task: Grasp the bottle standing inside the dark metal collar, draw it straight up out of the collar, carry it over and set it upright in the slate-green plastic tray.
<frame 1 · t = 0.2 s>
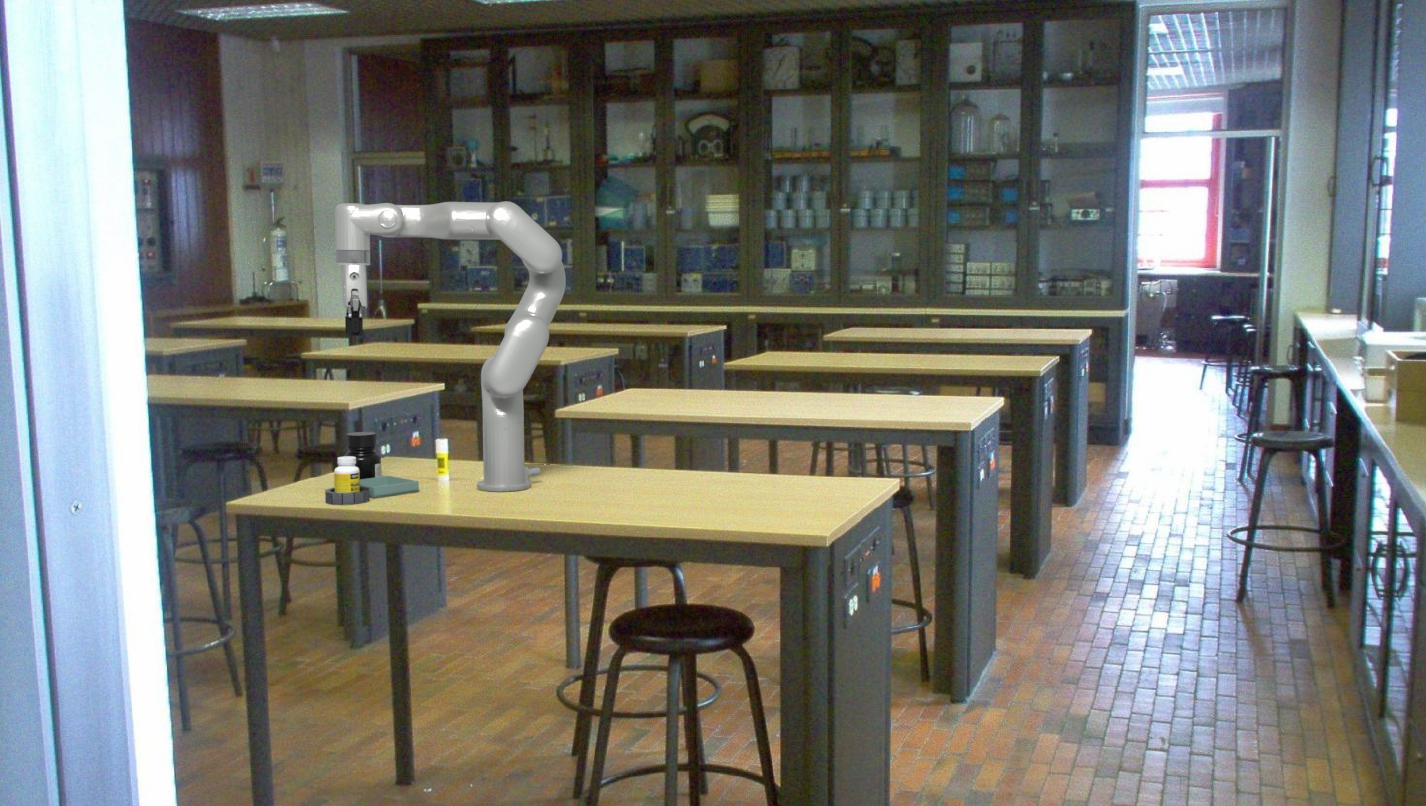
hand: (354, 334, 299), 36 cm above the table, tool pointing down, fingers open, 9 cm apart
tray: (381, 492, 305), on the table
supplement bottle: (347, 501, 294), resting in collar
collar: (347, 500, 294), on the table
ink bottle: (362, 484, 317), on the table
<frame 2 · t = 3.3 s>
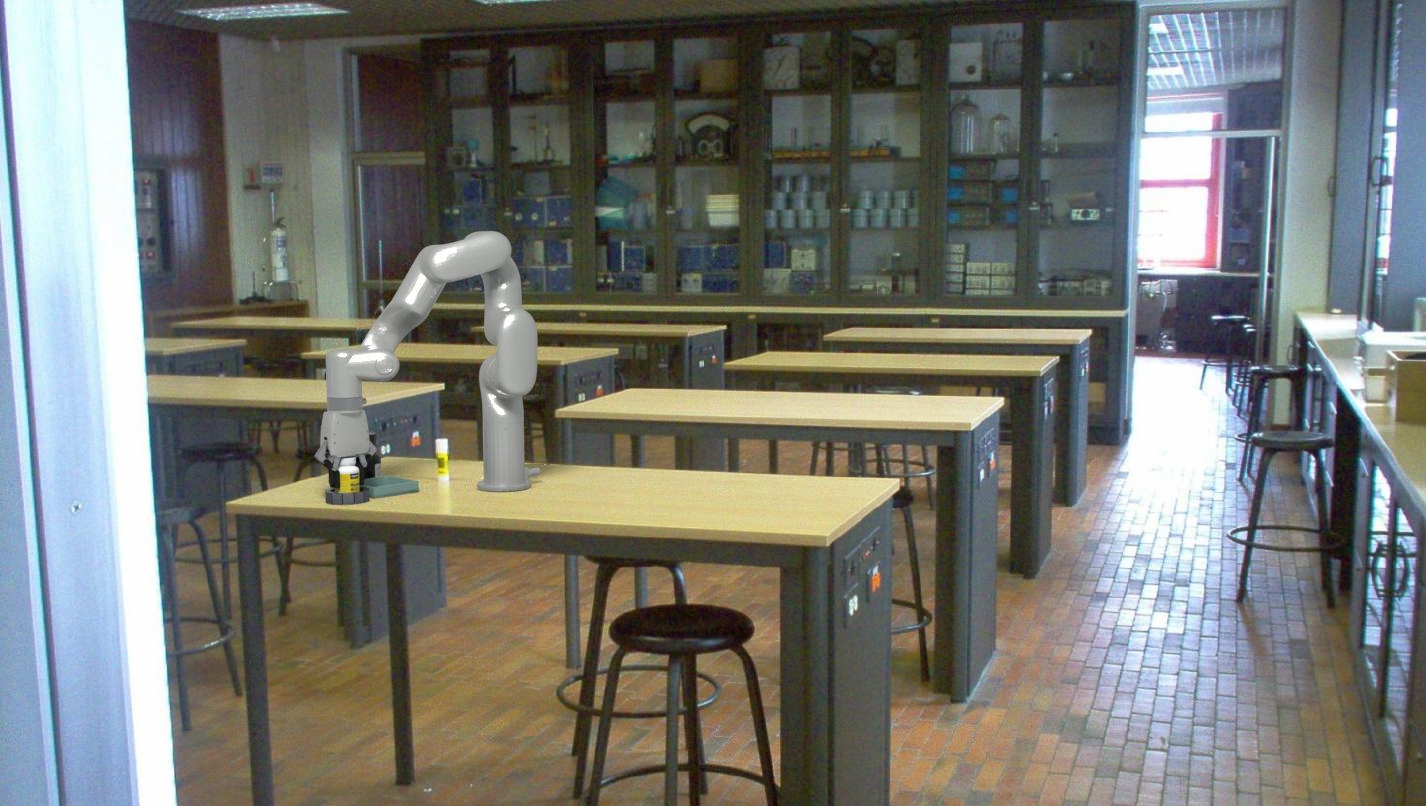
hand: (347, 485, 293), 4 cm above the table, tool pointing down, fingers closed on supplement bottle, 5 cm apart
supplement bottle: (347, 501, 294), resting in collar, touching gripper
everything else where it was.
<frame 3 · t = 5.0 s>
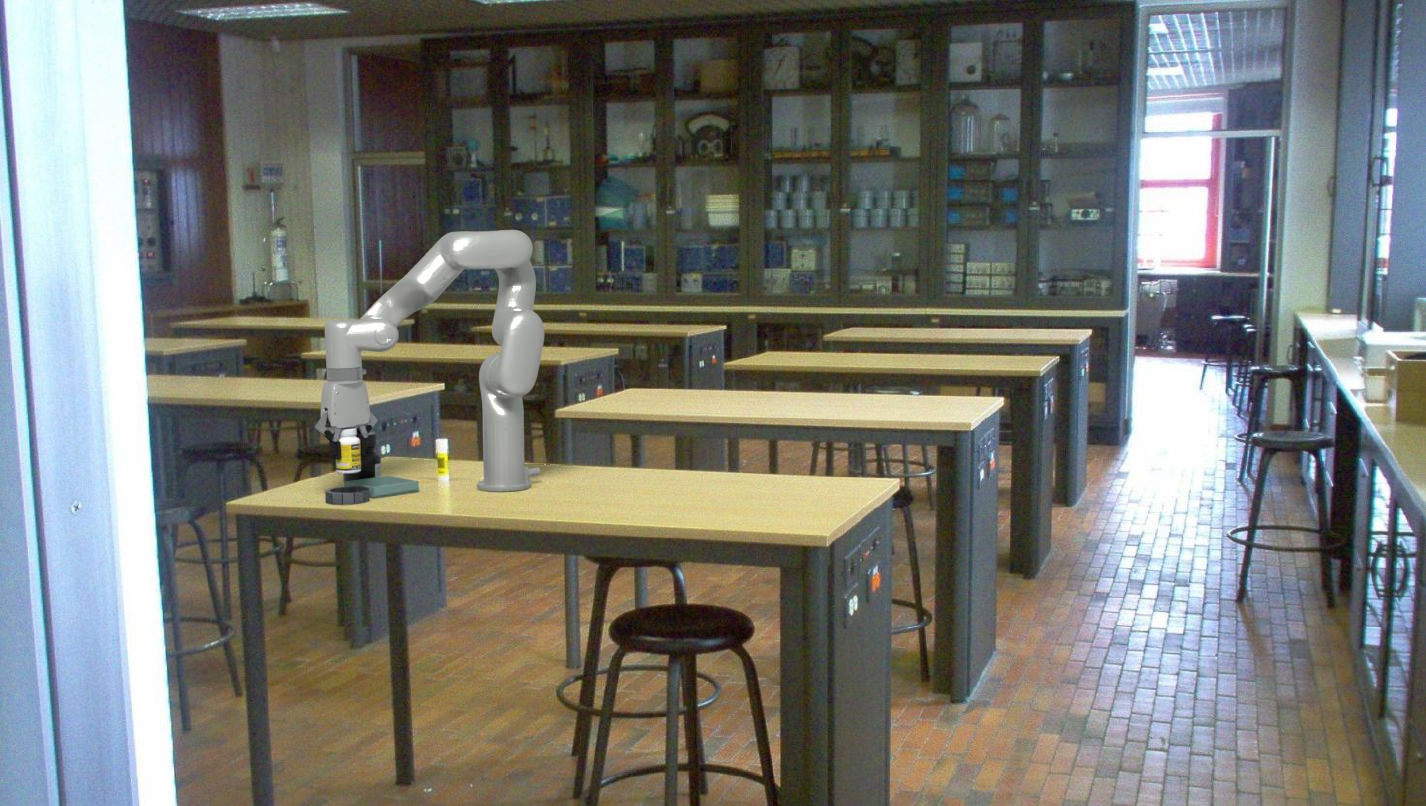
hand: (348, 456, 293), 10 cm above the table, tool pointing down, fingers closed on supplement bottle, 5 cm apart
supplement bottle: (349, 473, 293), point 6 cm above the table, touching gripper
everything else where it was.
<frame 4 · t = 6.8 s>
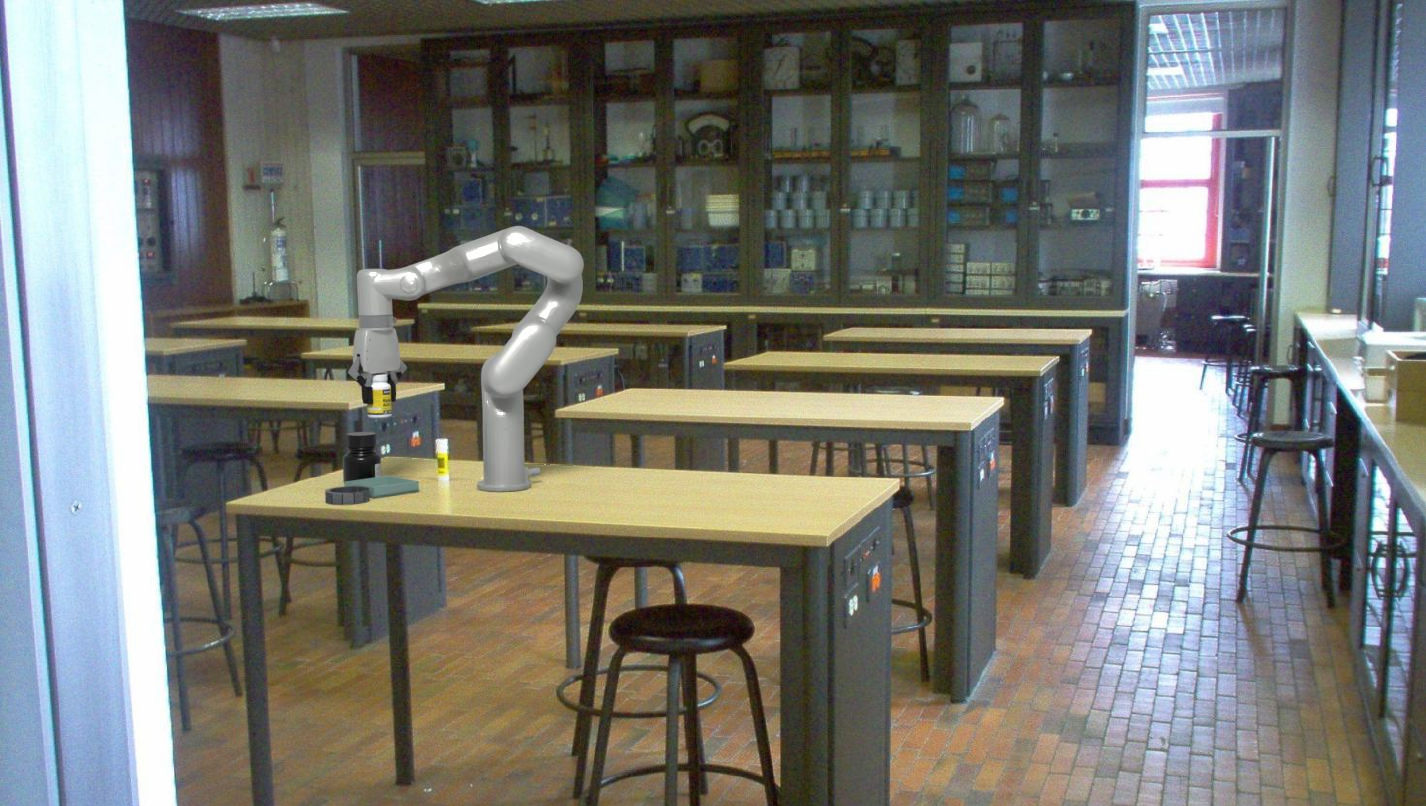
hand: (379, 401, 302), 21 cm above the table, tool pointing down, fingers closed on supplement bottle, 5 cm apart
supplement bottle: (380, 417, 303), point 17 cm above the table, touching gripper
everything else where it was.
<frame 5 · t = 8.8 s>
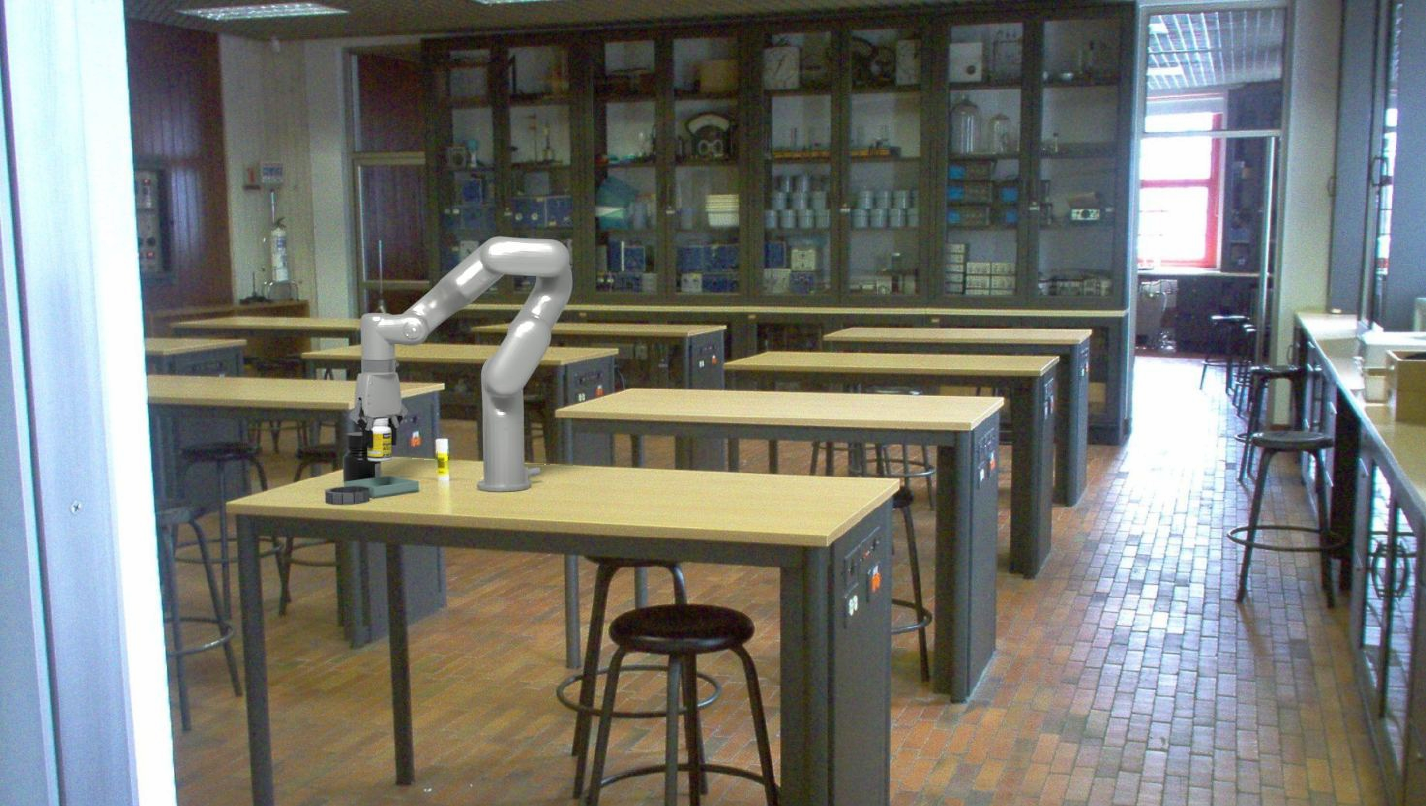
hand: (379, 445, 304), 11 cm above the table, tool pointing down, fingers closed on supplement bottle, 5 cm apart
supplement bottle: (379, 461, 304), point 7 cm above the table, touching gripper
everything else where it was.
when the fingers open (5 cm above the table, at t = 10.3 s): supplement bottle drops 1 cm, resting on tray.
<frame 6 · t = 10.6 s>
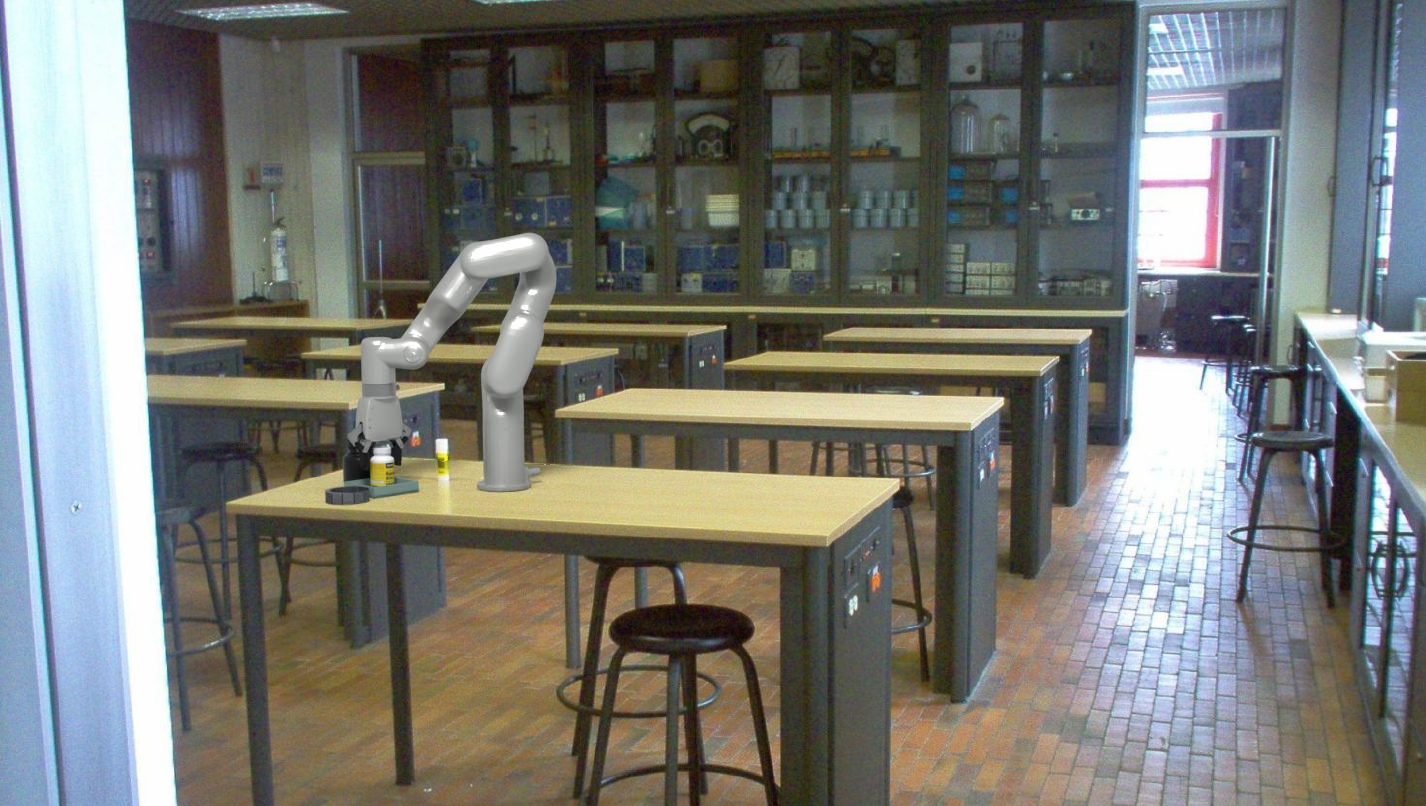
hand: (381, 466, 304), 6 cm above the table, tool pointing down, fingers open, 7 cm apart
supplement bottle: (382, 490, 305), resting on tray
everything else where it was.
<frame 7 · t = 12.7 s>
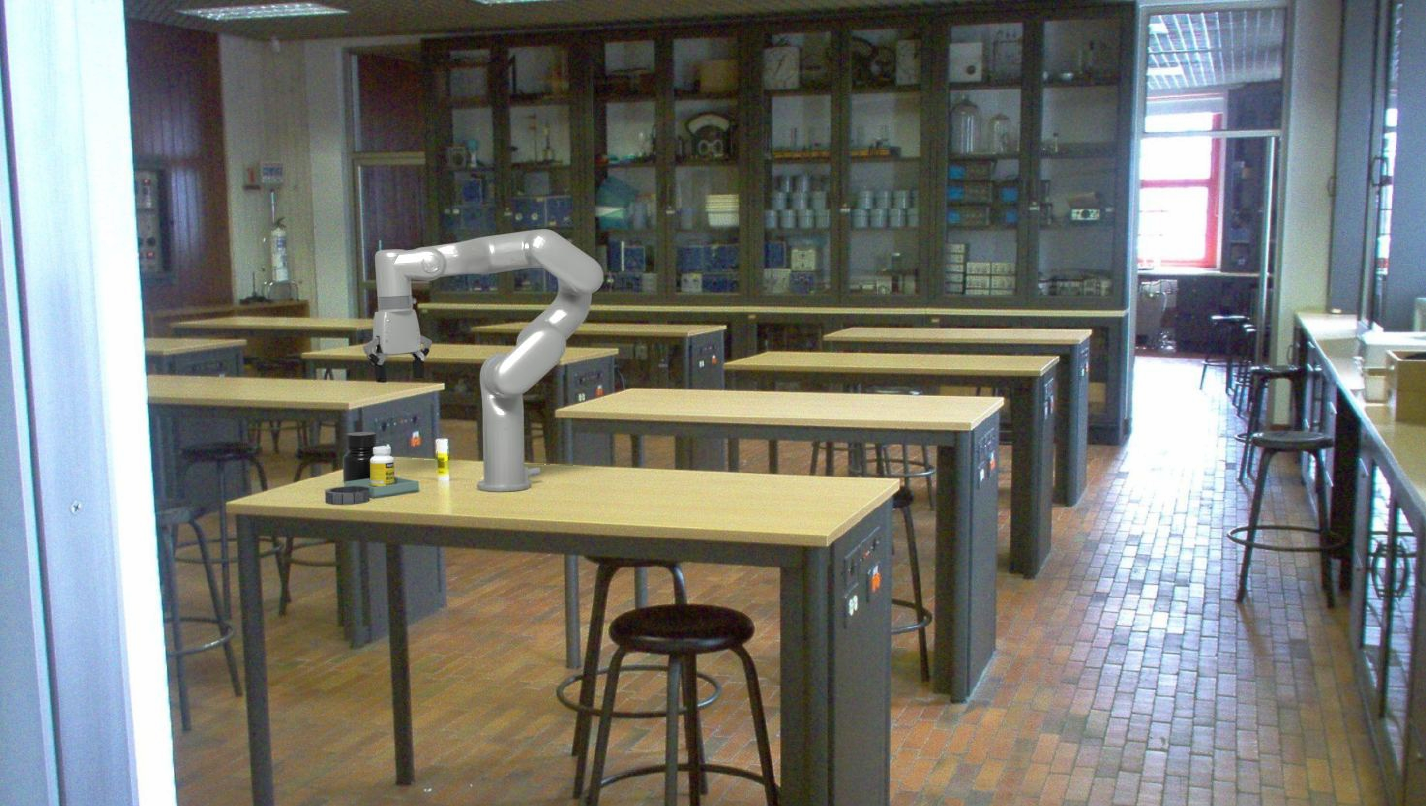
hand: (400, 380, 299), 26 cm above the table, tool pointing down, fingers open, 9 cm apart
nothing on the table moved.
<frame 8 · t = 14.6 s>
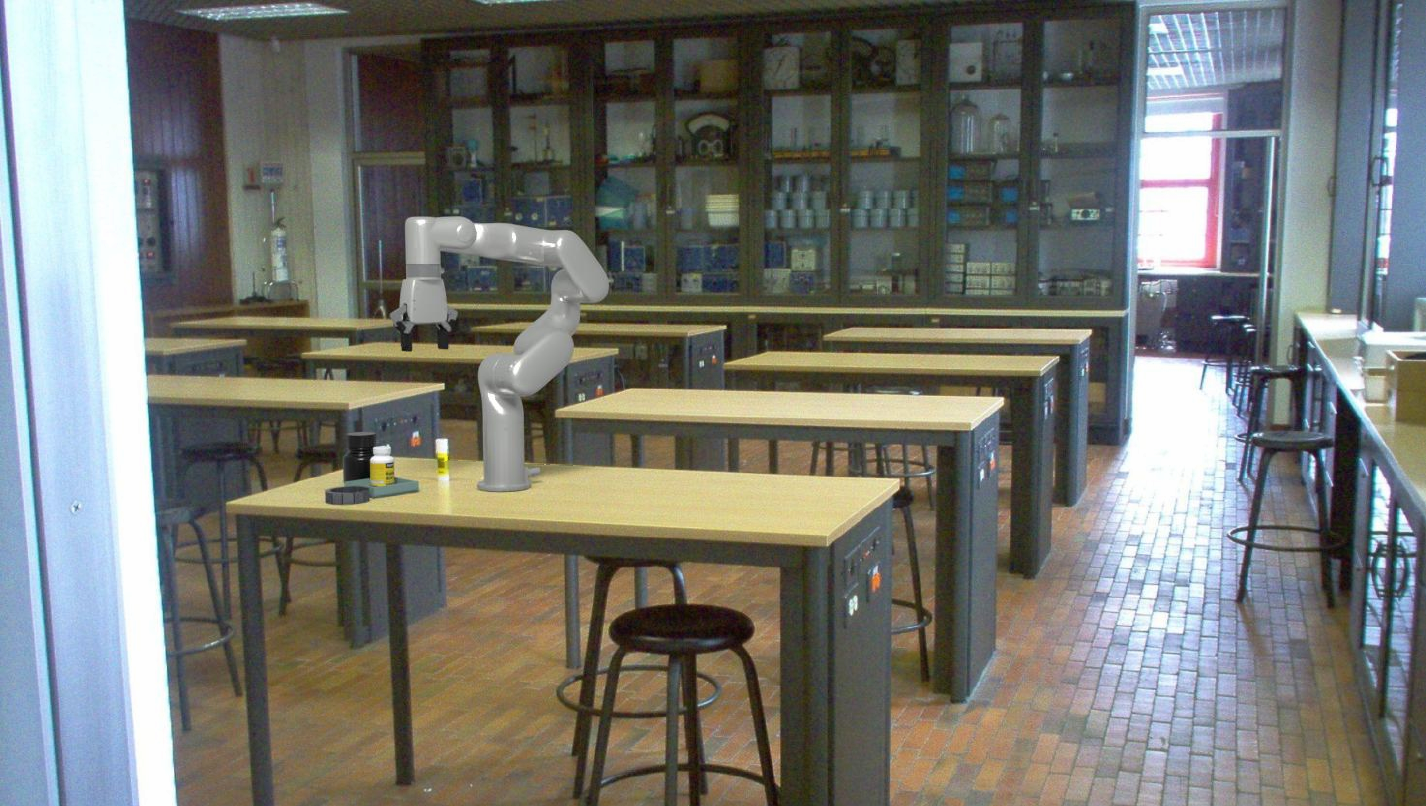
hand: (425, 350, 294), 33 cm above the table, tool pointing down, fingers open, 9 cm apart
nothing on the table moved.
at the end: supplement bottle inside the target area on the tray (0.3 cm from its centre), point 0.4 cm above the tray's base; supplement bottle tilted 0°; the gripper is holding nothing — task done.
